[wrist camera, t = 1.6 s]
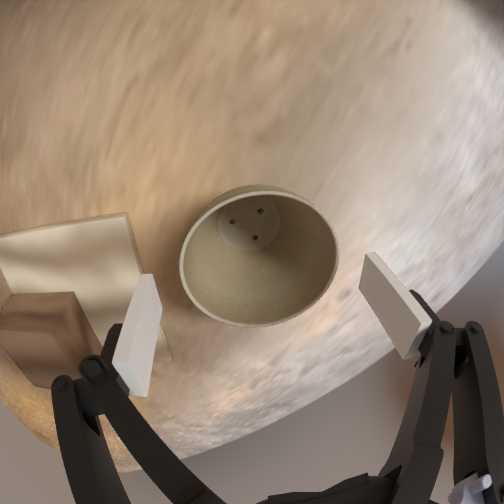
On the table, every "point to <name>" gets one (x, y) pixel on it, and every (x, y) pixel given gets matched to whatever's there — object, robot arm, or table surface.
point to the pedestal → (47, 335)
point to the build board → (80, 268)
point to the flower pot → (258, 256)
